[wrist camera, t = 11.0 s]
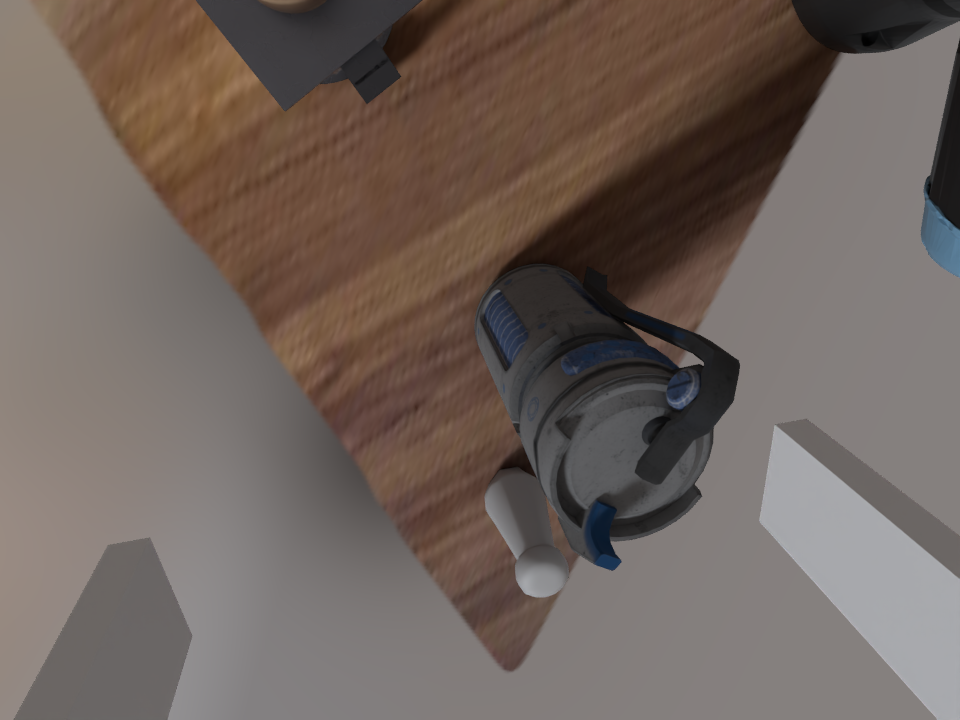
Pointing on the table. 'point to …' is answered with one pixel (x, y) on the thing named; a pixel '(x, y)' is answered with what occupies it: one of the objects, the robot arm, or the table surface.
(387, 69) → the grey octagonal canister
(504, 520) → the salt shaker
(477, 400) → the table surface
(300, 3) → the plunger
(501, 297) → the beverage bottle
